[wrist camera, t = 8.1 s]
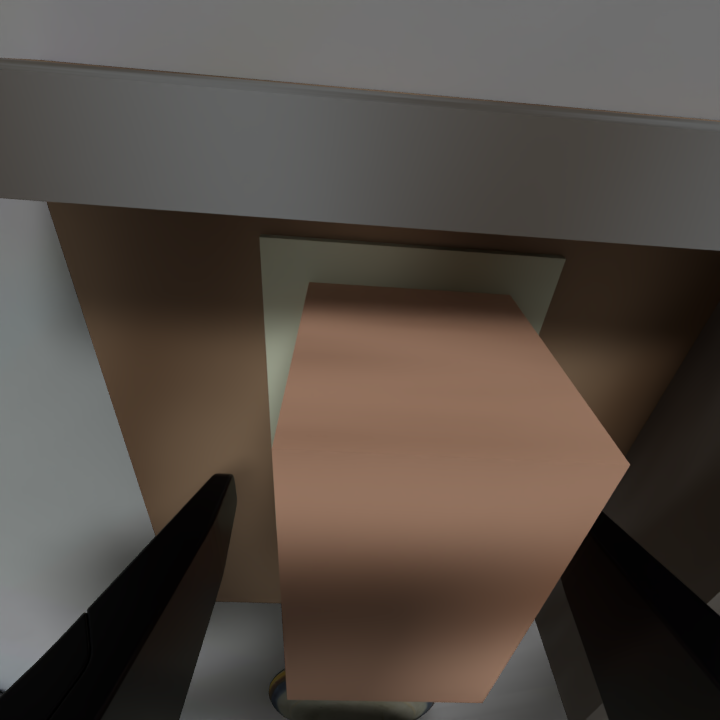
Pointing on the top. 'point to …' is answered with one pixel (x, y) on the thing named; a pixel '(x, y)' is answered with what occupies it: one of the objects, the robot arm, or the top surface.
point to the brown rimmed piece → (379, 275)
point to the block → (424, 491)
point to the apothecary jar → (341, 707)
